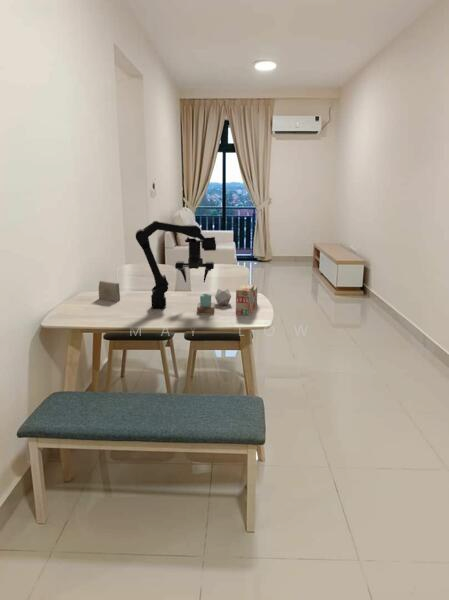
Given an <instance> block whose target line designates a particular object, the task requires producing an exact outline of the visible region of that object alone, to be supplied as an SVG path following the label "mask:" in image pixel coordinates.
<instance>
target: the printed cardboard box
mask: <svg viewBox="0 0 449 600" xmlns="http://www.w3.org/2000/svg"><path fill="white" fill-rule="evenodd" d="M257 304H258V286H256V285H254V284H250V283H249V284H248V283H247V284H246V283H241V284H240V286H239V287H237V289H236V290H235V315H237V314H238V316H240V315H241V316H250V315H251V313H252V311H253V310H254V309H255V308H256V305H257Z"/></svg>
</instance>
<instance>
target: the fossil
mask: <svg viewBox="0 0 449 600" xmlns="http://www.w3.org/2000/svg"><path fill="white" fill-rule="evenodd" d="M98 300H103V301H110V302H115V303H116V302H121V293H120V282H119V283H118V282H112V281H106V280H100V281H99V282H98Z"/></svg>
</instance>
